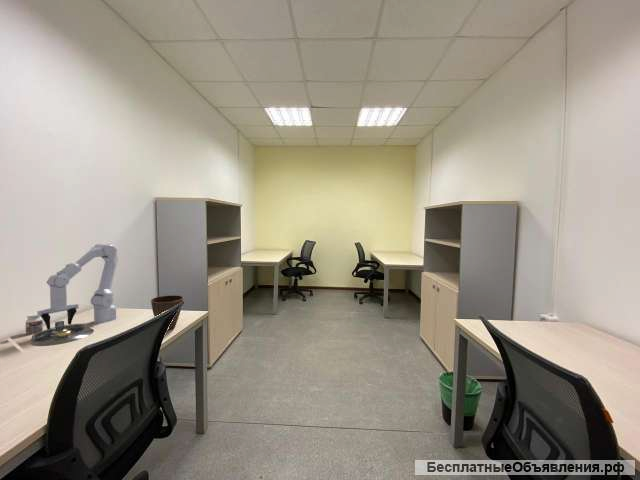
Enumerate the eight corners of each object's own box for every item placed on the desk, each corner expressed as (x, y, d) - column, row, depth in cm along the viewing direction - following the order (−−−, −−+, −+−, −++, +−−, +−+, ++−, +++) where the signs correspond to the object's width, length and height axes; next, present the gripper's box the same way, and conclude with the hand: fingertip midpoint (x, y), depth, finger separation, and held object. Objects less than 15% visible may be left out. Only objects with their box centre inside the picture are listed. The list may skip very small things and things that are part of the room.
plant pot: (178, 321, 154) (177, 293, 154) (187, 328, 144) (186, 298, 143) (148, 327, 144) (147, 298, 143) (155, 335, 133) (155, 304, 133)
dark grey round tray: (83, 326, 144) (83, 320, 144) (101, 335, 133) (101, 329, 133) (24, 340, 125) (23, 334, 125) (39, 352, 114) (39, 345, 114)
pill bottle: (31, 337, 129) (31, 316, 129) (22, 335, 131) (22, 315, 130) (45, 332, 135) (45, 313, 135) (37, 331, 136) (36, 312, 136)
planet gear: (69, 332, 133) (69, 321, 133) (55, 336, 128) (55, 324, 128) (63, 330, 135) (63, 319, 135) (49, 334, 130) (49, 322, 130)
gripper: (74, 294, 139) (75, 320, 140) (34, 301, 127) (35, 329, 128) (80, 296, 136) (80, 323, 136) (39, 303, 123) (40, 332, 124)
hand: (59, 326), depth 132 cm, fingers open, 7 cm apart
